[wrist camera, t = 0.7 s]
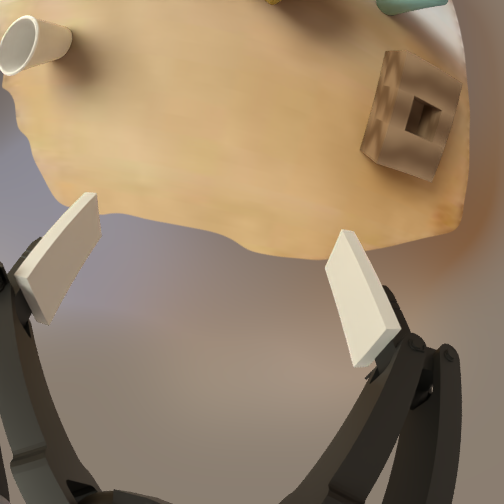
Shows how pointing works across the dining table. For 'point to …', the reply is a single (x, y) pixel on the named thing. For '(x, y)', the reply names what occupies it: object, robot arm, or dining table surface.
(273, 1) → the flower pot
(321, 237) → the dining table surface
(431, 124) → the block
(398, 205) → the dining table surface
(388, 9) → the pin
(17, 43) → the dixie cup
